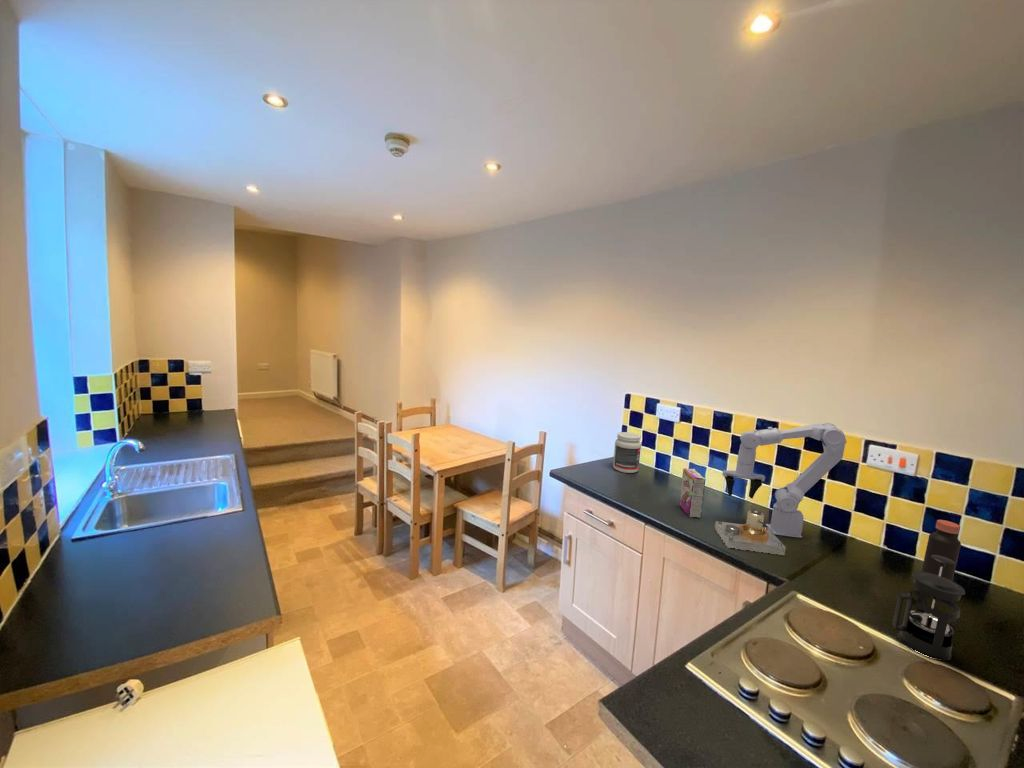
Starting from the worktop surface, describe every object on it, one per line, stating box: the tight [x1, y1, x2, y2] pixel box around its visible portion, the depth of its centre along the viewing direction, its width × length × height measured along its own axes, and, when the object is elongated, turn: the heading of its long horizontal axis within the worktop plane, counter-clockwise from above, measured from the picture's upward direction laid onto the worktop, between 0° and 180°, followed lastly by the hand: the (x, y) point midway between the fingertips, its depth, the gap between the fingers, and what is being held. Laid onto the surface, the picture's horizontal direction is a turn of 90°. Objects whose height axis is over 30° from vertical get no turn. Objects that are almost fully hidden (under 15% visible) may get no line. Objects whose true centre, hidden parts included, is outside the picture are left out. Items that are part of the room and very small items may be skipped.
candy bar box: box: [678, 468, 706, 519], centre depth 171 cm, size 11×5×16 cm, turn 179°
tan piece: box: [745, 508, 766, 535], centre depth 148 cm, size 5×8×8 cm, turn 1°
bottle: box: [920, 519, 962, 582], centre depth 129 cm, size 7×7×20 cm
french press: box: [892, 555, 966, 661], centre depth 102 cm, size 12×9×23 cm
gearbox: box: [714, 520, 787, 556], centre depth 150 cm, size 18×14×4 cm
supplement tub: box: [612, 431, 642, 474], centre depth 217 cm, size 13×13×18 cm
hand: (740, 496), depth 164 cm, fingers open, 7 cm apart
